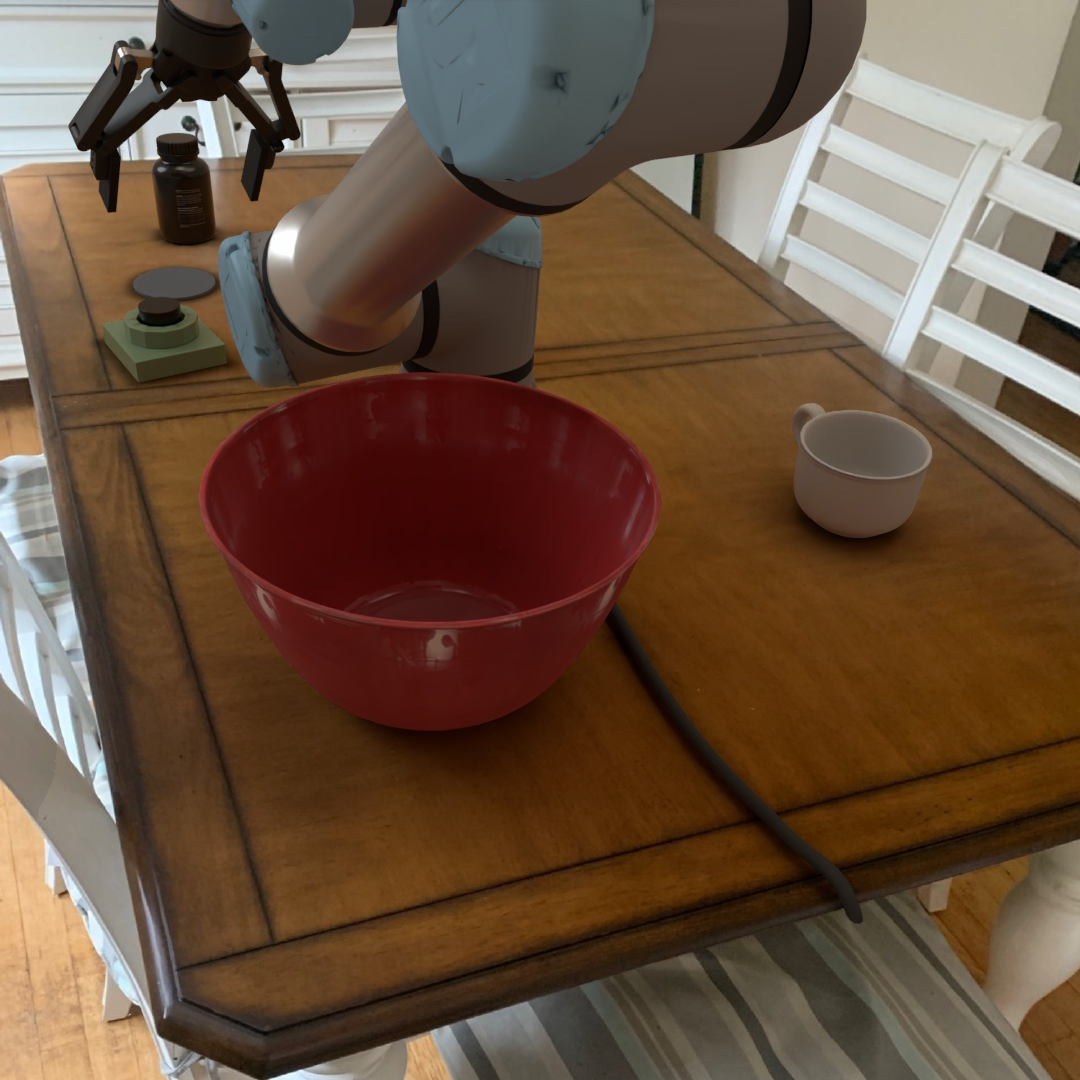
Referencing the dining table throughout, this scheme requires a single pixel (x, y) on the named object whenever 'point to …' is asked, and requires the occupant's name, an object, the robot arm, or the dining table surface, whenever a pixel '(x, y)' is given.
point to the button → (159, 312)
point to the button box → (164, 346)
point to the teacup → (857, 469)
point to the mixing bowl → (429, 539)
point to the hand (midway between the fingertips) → (180, 196)
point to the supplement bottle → (183, 190)
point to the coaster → (174, 283)
